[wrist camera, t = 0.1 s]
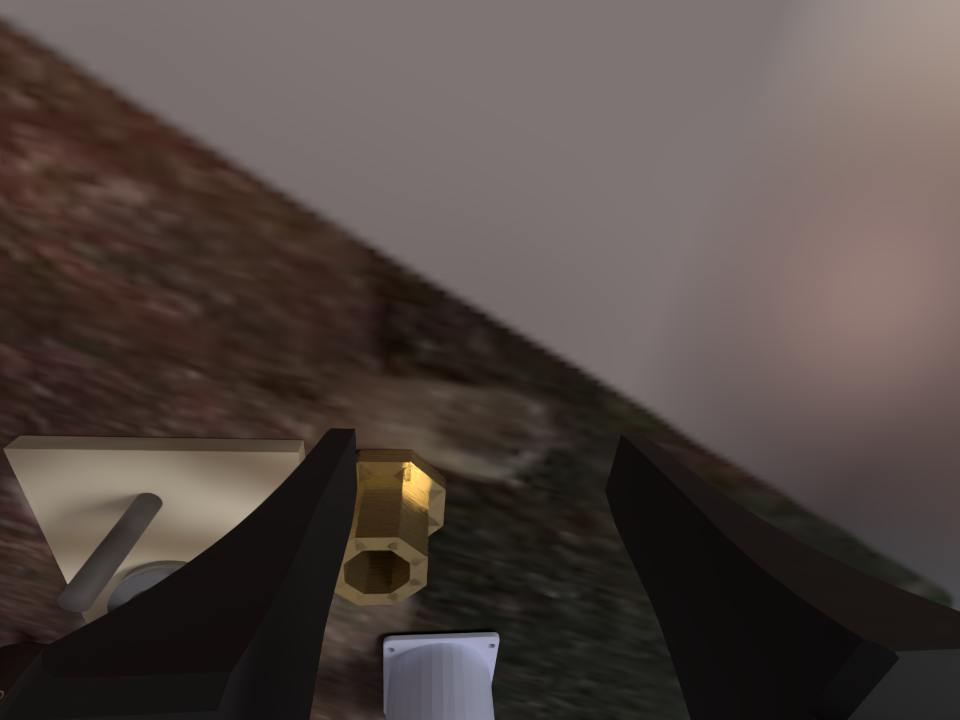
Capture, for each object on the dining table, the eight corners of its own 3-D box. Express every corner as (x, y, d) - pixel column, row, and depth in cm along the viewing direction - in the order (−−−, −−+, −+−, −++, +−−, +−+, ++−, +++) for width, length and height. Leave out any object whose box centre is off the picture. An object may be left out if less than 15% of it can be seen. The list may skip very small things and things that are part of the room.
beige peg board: (321, 613, 30) (294, 731, 24) (103, 619, 28) (18, 747, 22) (303, 440, 23) (261, 543, 18) (20, 435, 22) (-128, 547, 16)
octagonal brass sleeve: (440, 535, 27) (442, 614, 23) (331, 536, 27) (311, 618, 22) (447, 450, 25) (450, 522, 20) (324, 448, 24) (299, 523, 19)
